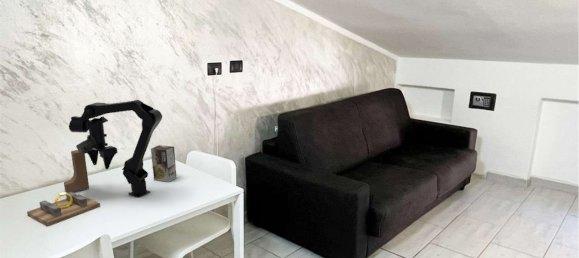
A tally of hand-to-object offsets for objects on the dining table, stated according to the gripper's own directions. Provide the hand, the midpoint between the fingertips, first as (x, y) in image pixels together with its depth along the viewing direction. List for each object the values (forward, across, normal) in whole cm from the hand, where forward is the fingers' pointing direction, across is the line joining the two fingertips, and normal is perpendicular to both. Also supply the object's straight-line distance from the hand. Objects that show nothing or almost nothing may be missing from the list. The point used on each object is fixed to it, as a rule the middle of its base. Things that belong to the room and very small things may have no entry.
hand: (101, 167), depth 166 cm
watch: (+11, +4, -19) cm, 22 cm away
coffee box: (+12, +9, +26) cm, 30 cm away
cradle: (+12, +4, -19) cm, 23 cm away
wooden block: (+12, -13, -5) cm, 19 cm away
